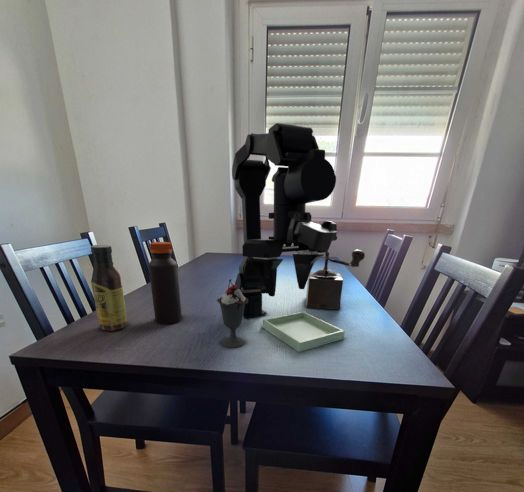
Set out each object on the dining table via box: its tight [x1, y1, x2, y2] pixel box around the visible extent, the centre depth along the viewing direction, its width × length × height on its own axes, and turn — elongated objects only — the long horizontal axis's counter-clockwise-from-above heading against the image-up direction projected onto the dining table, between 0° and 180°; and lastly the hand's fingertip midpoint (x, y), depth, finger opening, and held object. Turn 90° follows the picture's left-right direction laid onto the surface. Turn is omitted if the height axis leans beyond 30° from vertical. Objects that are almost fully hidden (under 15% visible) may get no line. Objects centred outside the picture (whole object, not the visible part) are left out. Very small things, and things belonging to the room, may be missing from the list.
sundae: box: [216, 278, 248, 349], centre depth 60 cm, size 7×7×15 cm
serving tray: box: [262, 311, 346, 353], centre depth 69 cm, size 15×13×2 cm
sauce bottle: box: [90, 244, 128, 332], centre depth 66 cm, size 7×6×20 cm
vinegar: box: [148, 241, 183, 325], centre depth 72 cm, size 7×7×20 cm
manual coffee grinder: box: [305, 249, 366, 310], centre depth 87 cm, size 16×11×18 cm
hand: (287, 292), depth 55 cm, fingers open, 9 cm apart
